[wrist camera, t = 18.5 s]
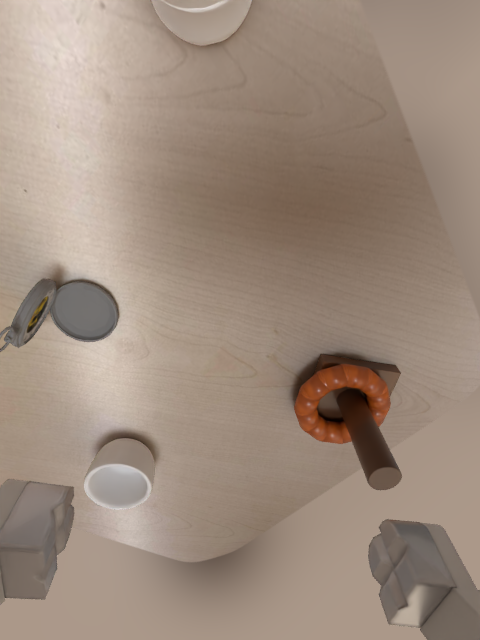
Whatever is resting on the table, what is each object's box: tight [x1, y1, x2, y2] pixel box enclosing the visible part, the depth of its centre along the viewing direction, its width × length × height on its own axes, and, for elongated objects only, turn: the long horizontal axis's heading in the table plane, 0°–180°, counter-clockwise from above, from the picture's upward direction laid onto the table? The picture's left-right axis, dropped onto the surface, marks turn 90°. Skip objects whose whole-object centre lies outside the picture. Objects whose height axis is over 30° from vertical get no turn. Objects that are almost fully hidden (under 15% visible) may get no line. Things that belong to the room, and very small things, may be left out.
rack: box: [314, 354, 402, 490], centre depth 39 cm, size 9×9×12 cm
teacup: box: [84, 438, 155, 510], centre depth 46 cm, size 10×8×5 cm
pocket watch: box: [0, 279, 118, 352], centre depth 34 cm, size 8×8×10 cm
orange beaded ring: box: [294, 364, 391, 444], centre depth 42 cm, size 10×10×2 cm
